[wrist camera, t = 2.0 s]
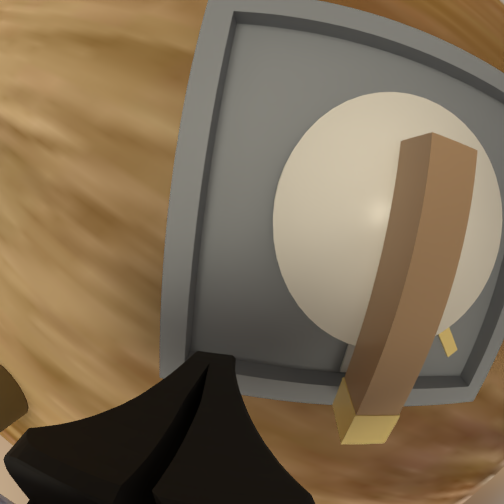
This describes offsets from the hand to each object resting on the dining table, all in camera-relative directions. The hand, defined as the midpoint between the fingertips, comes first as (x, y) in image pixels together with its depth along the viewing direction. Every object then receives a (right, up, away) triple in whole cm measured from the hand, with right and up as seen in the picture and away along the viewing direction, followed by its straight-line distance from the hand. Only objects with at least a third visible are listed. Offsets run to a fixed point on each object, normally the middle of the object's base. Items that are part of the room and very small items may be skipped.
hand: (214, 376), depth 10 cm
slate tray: (+7, +6, +3) cm, 10 cm away
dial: (+7, +4, +2) cm, 8 cm away
